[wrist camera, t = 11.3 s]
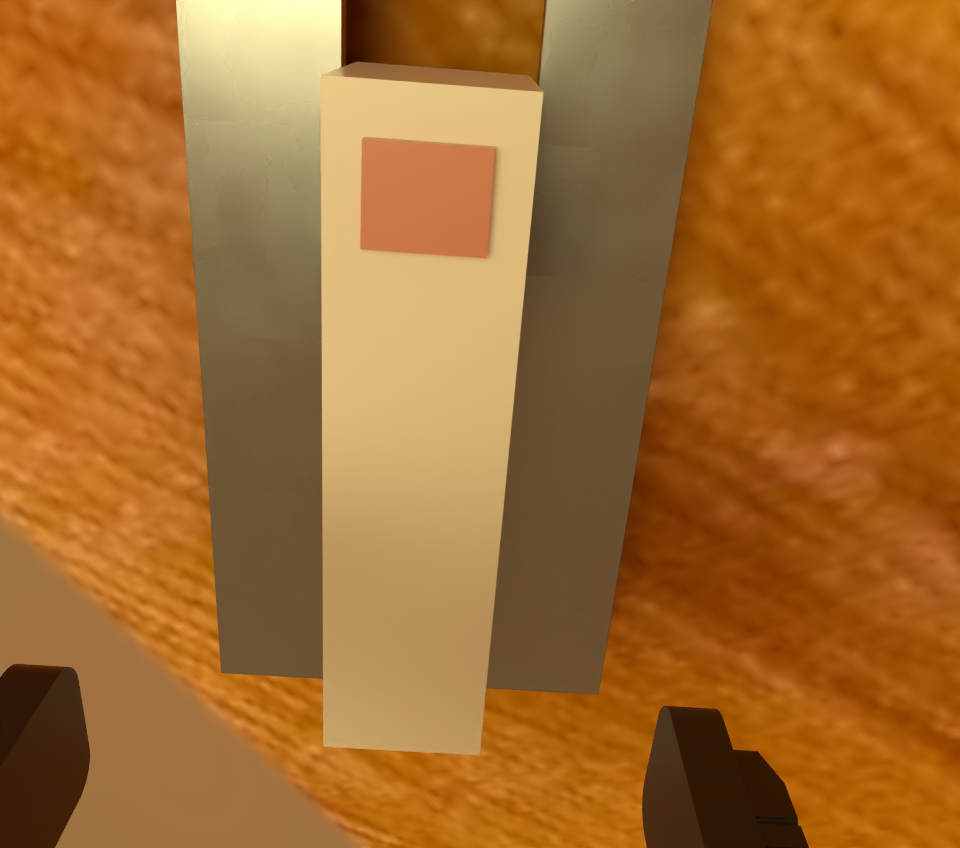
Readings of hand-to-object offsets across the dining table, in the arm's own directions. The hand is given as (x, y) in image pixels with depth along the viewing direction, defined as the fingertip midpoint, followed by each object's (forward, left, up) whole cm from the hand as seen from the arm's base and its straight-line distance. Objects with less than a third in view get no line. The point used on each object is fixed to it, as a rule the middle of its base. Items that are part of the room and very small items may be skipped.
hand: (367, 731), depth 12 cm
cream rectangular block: (0, 0, -16) cm, 16 cm away
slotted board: (-2, 0, -17) cm, 17 cm away
